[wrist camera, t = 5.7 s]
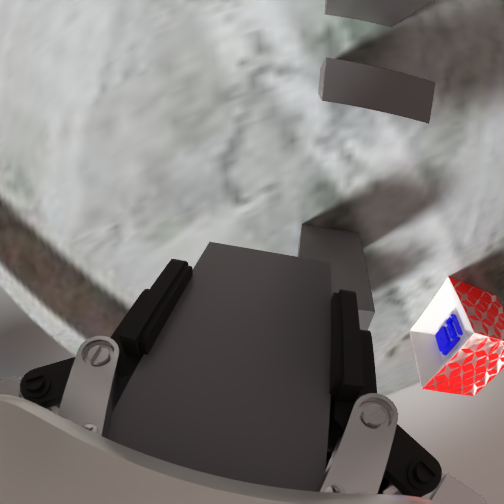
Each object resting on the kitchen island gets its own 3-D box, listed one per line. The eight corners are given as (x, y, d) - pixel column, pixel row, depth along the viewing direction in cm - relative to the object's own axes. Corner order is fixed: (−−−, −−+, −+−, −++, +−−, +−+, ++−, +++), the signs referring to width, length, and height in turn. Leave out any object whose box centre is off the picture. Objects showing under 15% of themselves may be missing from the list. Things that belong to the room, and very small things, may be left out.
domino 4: (320, 68, 19) (326, 57, 11) (386, 80, 19) (434, 82, 10) (318, 93, 20) (322, 100, 12) (383, 105, 20) (428, 123, 11)
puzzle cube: (457, 343, 30) (473, 396, 23) (409, 330, 30) (421, 389, 24) (496, 294, 26) (523, 345, 19) (448, 275, 26) (474, 332, 19)
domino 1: (209, 242, 13) (80, 474, 4) (331, 262, 12) (316, 538, 4) (209, 280, 14) (108, 494, 6) (320, 300, 13) (295, 543, 5)
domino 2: (302, 224, 26) (292, 300, 18) (359, 233, 26) (374, 312, 17) (298, 244, 27) (288, 324, 19) (353, 252, 27) (365, 334, 18)
